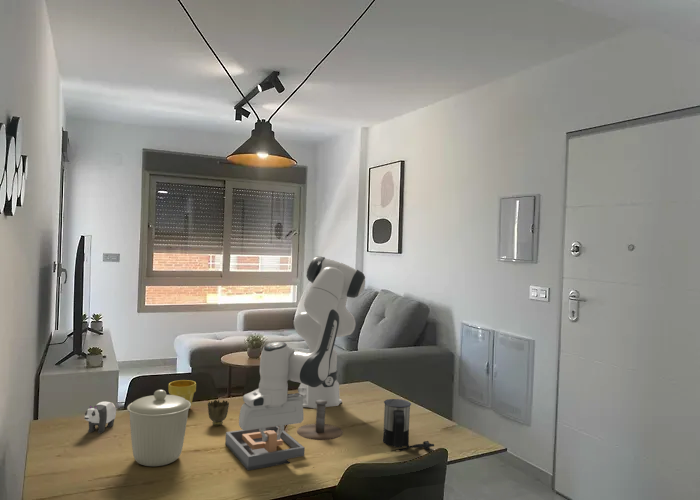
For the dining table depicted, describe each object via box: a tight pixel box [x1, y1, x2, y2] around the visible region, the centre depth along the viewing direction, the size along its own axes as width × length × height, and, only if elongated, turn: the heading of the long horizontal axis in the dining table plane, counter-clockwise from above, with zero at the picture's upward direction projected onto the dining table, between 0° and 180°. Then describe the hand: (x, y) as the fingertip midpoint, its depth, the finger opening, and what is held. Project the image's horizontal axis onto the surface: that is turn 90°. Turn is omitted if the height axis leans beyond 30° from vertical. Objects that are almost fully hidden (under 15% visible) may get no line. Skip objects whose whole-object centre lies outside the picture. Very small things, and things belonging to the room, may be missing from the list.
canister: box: [126, 389, 192, 467], centre depth 163 cm, size 18×18×21 cm
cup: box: [207, 399, 230, 427], centre depth 195 cm, size 8×7×8 cm
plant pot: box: [168, 379, 197, 410], centre depth 212 cm, size 10×10×10 cm
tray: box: [225, 426, 305, 471], centre depth 172 cm, size 22×18×4 cm
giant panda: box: [83, 401, 117, 434], centre depth 184 cm, size 15×6×10 cm, turn 174°
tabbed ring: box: [242, 430, 284, 452], centre depth 172 cm, size 14×10×6 cm
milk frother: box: [382, 398, 435, 452], centre depth 182 cm, size 14×16×15 cm
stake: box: [296, 400, 344, 441], centre depth 189 cm, size 16×16×12 cm
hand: (271, 440), depth 168 cm, fingers closed on tabbed ring, 2 cm apart
